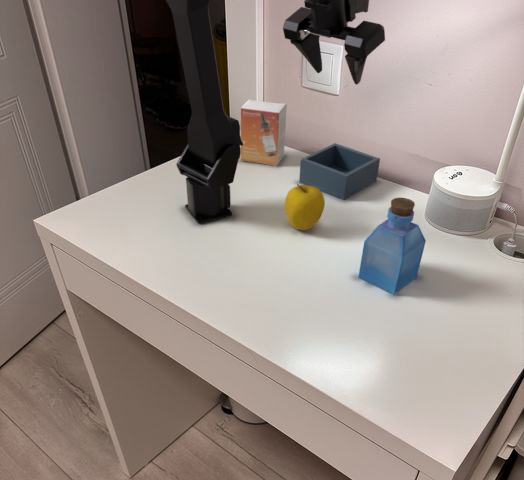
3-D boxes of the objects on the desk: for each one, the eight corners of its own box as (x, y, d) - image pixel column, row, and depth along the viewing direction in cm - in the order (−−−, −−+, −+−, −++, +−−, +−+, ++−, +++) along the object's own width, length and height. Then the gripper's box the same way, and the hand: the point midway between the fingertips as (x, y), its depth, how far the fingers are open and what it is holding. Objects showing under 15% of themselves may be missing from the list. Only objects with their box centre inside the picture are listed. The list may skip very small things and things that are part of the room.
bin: (344, 200, 97) (347, 176, 94) (299, 182, 102) (300, 158, 99) (376, 181, 103) (380, 158, 100) (332, 165, 108) (334, 142, 105)
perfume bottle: (416, 277, 80) (435, 202, 71) (393, 295, 76) (410, 219, 68) (381, 261, 83) (395, 188, 75) (358, 277, 79) (370, 203, 71)
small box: (239, 161, 109) (239, 107, 102) (248, 150, 113) (248, 98, 106) (277, 166, 108) (279, 112, 100) (284, 155, 111) (287, 102, 104)
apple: (275, 228, 90) (277, 183, 84) (300, 214, 93) (303, 170, 88) (305, 242, 86) (308, 196, 81) (329, 228, 90) (334, 183, 84)
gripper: (403, -33, 83) (406, 63, 96) (315, -46, 93) (328, 43, 106) (358, 6, 81) (367, 99, 94) (272, -11, 91) (291, 75, 103)
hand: (338, 77), depth 99 cm, fingers open, 9 cm apart
